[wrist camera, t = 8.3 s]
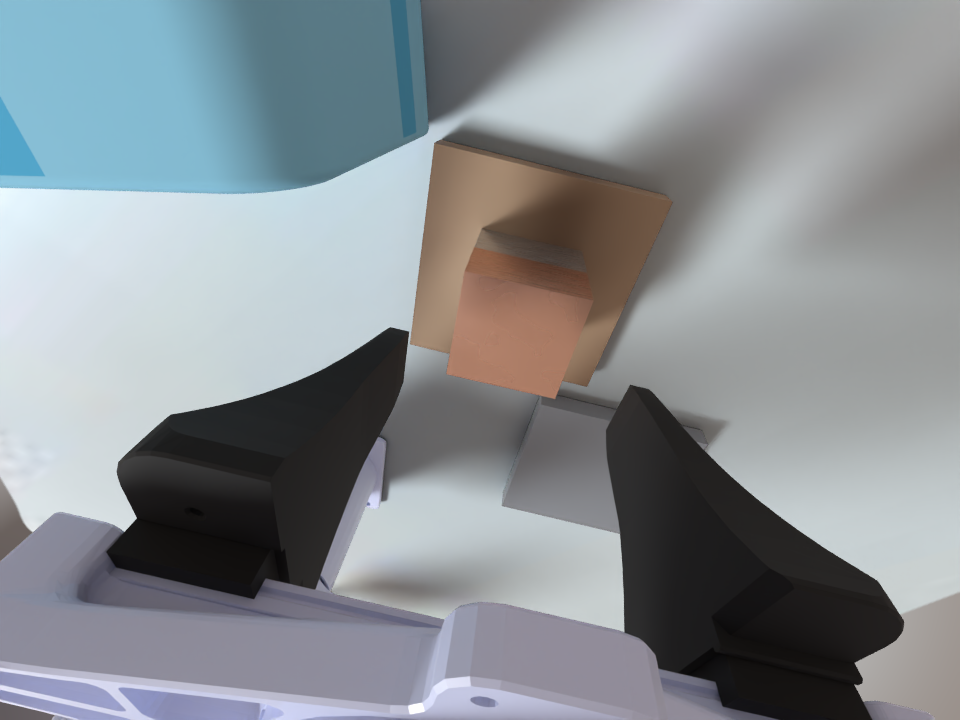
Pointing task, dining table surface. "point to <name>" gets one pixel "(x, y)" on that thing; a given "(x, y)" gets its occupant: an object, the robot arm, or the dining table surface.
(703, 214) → the dining table surface
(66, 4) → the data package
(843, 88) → the dining table surface
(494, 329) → the orange-brown cube
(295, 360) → the dining table surface
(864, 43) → the dining table surface
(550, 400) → the slate stand
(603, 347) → the walnut stand
